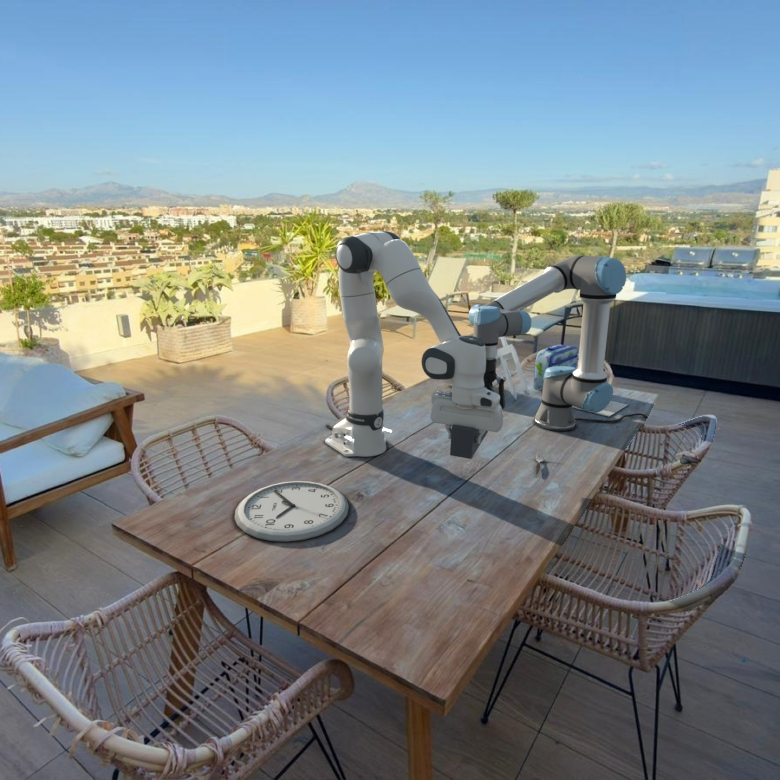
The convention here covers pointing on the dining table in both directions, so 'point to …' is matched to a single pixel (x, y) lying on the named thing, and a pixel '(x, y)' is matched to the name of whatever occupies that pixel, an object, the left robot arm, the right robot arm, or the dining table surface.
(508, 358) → the white plastic object
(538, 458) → the fork
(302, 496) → the wall clock
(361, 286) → the left robot arm
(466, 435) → the box
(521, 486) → the dining table surface
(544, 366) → the lunch box
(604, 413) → the invitation card
